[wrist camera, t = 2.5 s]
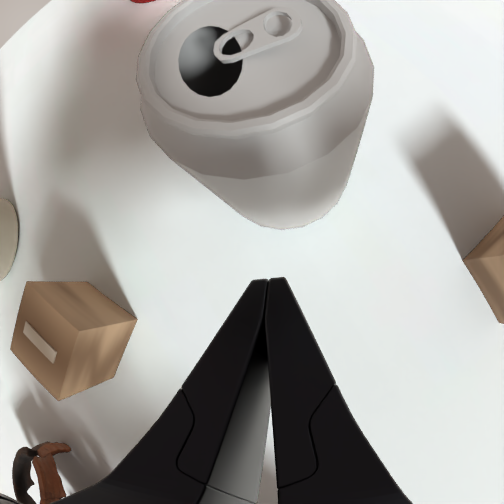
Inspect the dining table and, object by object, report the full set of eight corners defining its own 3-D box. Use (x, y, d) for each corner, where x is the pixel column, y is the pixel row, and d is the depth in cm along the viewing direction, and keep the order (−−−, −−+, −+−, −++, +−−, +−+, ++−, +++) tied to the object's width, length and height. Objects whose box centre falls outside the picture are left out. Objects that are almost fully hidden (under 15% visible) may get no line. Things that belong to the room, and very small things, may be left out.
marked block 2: (114, 377, 20) (57, 401, 14) (67, 337, 21) (8, 348, 15) (138, 319, 20) (77, 331, 14) (86, 281, 21) (24, 280, 15)
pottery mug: (75, 513, 21) (9, 509, 15) (78, 438, 26) (10, 424, 19) (154, 558, 16) (74, 572, 10) (156, 466, 21) (70, 462, 14)
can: (211, 136, 20) (112, 14, 8) (323, 102, 19) (316, -54, 7) (241, 247, 19) (125, 203, 7) (365, 211, 18) (435, 109, 6)
